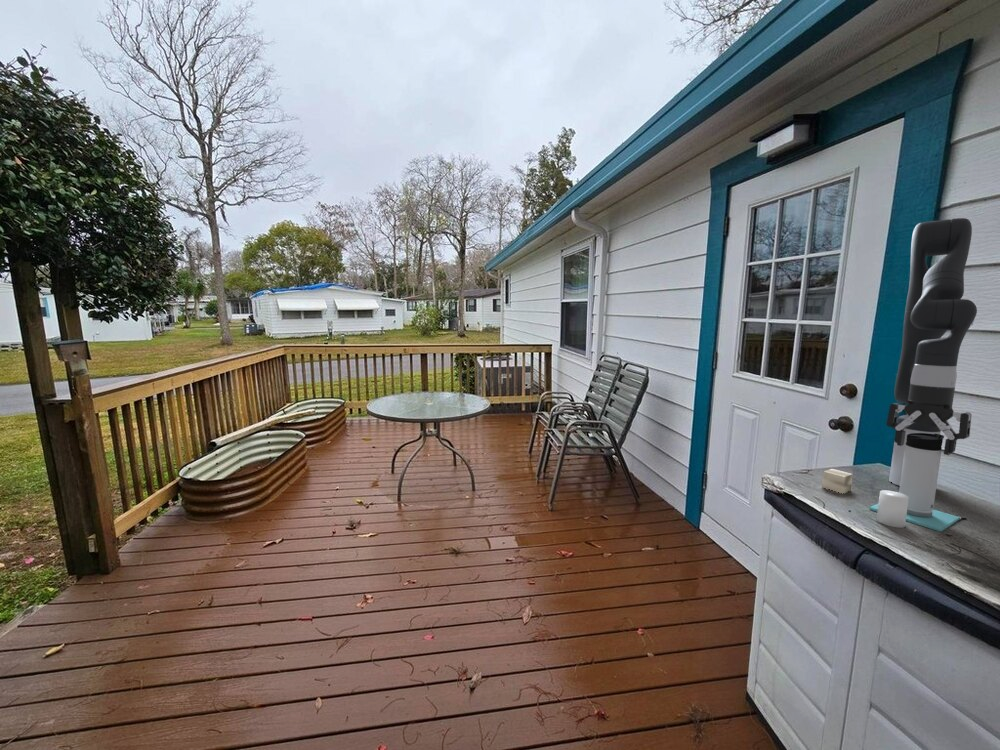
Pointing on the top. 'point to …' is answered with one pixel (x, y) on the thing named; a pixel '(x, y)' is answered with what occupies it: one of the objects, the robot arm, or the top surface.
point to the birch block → (837, 480)
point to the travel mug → (921, 472)
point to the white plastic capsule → (892, 508)
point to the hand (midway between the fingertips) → (922, 449)
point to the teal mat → (930, 519)
